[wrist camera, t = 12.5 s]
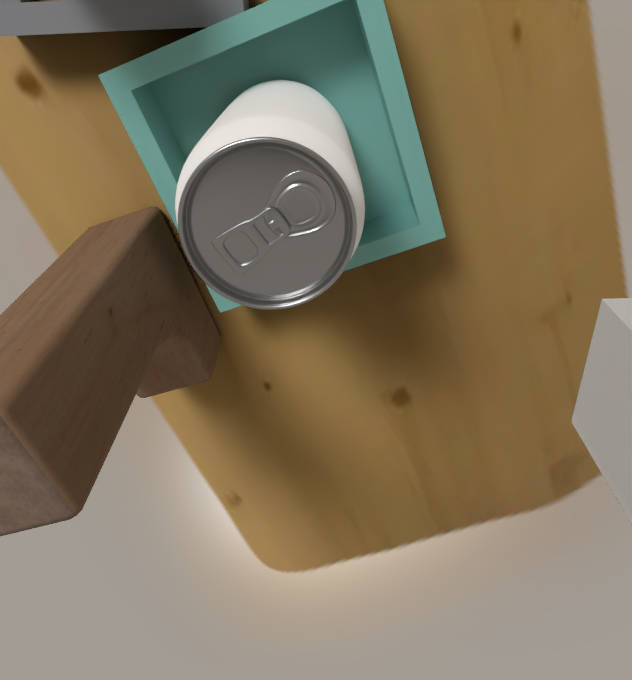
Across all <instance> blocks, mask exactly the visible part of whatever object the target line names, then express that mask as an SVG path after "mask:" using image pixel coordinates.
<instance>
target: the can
mask: <svg viewBox="0 0 632 680" xmlns="http://www.w3.org/2000/svg"><path fill="white" fill-rule="evenodd" d="M175 211H176V219H177V224H178V232H179V237H180V242H181V245H182V248H183V251H184V253H185V256H186V258H187V260H188V262H189V263H190V265H191V267H192V268H193V270H194V271H195V272H196V274H197V275H198V276H199V277H200V278H201V279H202V281H203V282H204V283H205V284H207V285H208V286H209V287H210V288H211V289H212V290H214V291H215V292H216V293H218V294H219V295H221V296H223V297H224V298H226V299H228V300H230V301H232V302H235V303H237V304H240V305H243V306H247V307H251V308H256V309H265V310H276V309H285V308H291V307H295V306H298V305H301V304H304V303H306V302H308V301H310V300H312V299H314V298H316V297H318V296H319V295H321V294H322V293H324V292H325V291H326V290H327V289H329V288H330V287H331V286H332V285H333V284H334V283H335V282H336V281H337V279H338V278H339V277H340V276H341V274H342V273H343V271H344V270H345V268H346V266H347V264H348V262H349V261H350V259H351V258H352V256H353V254H354V252H355V251H356V248H357V246H358V244H359V241H360V238H361V235H362V231H363V226H364V217H365V200H364V193H363V187H362V183H361V179H360V175H359V171H358V168H357V164H356V160H355V157H354V154H353V150H352V147H351V144H350V140H349V137H348V134H347V131H346V128H345V125H344V123H343V121H342V119H341V117H340V115H339V114H338V112H337V111H336V109H335V108H334V107H333V106H332V105H331V103H330V102H329V101H328V100H327V99H326V98H325V97H323V96H322V95H321V94H320V93H319V92H317V91H316V90H314V89H313V88H311V87H309V86H307V85H305V84H302V83H299V82H295V81H290V80H272V81H266V82H263V83H260V84H257V85H255V86H252V87H250V88H249V89H247V90H245V91H244V92H243V93H241V94H240V95H239V96H238V97H237V98H236V99H235V100H234V101H233V102H232V103H231V104H230V105H229V106H228V107H227V108H226V109H225V110H224V112H223V113H222V114H221V115H220V116H219V117H218V119H217V120H216V121H215V122H214V123H213V125H212V126H211V127H210V128H209V129H208V131H207V132H206V133H205V134H204V135H203V137H202V138H201V139H200V141H199V142H198V143H197V144H196V146H195V147H194V149H193V150H192V152H191V153H190V155H189V156H188V158H187V160H186V162H185V164H184V166H183V168H182V171H181V174H180V177H179V180H178V184H177V189H176V197H175Z"/></svg>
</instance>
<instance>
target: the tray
mask: <svg viewBox="0 0 632 680" xmlns="http://www.w3.org/2000/svg"><path fill="white" fill-rule="evenodd" d="M98 76H99V78H100V80H101V82H102V84H103V86H104V88H105V90H106V92H107V94H108V96H109V98H110V100H111V102H112V103H113V105H114V107H115V109H116V111H117V113H118V115H119V117H120V119H121V121H122V123H123V125H124V127H125V129H126V131H127V133H128V135H129V137H130V138H131V140H132V142H133V144H134V146H135V148H136V150H137V152H138V154H139V156H140V158H141V160H142V162H143V164H144V166H145V168H146V170H147V172H148V173H149V175H150V177H151V179H152V181H153V183H154V185H155V187H156V189H157V191H158V193H159V195H160V197H161V199H162V201H163V203H164V205H165V206H166V208H167V210H168V212H169V214H170V216H171V218H172V220H173V222H174V224H175V226H176V228H177V230H178V224H177V219H176V211H175V197H176V189H177V184H178V180H179V177H180V174H181V171H182V168H183V166H184V164H185V162H186V160H187V158H188V156H189V155H190V153H191V152H192V150H193V149H194V147H195V146H196V144H197V143H198V142H199V141H200V139H201V138H202V137H203V135H204V134H205V133H206V132H207V131H208V129H209V128H210V127H211V126H212V125H213V123H214V122H215V121H216V120H217V119H218V117H219V116H220V115H221V114H222V113H223V112H224V110H225V109H226V108H227V107H228V106H229V105H230V104H231V103H232V102H233V101H234V100H235V99H236V98H237V97H238V96H239V95H240V94H241V93H243V92H244V91H245V90H247V89H249V88H250V87H252V86H255V85H257V84H260V83H263V82H266V81H272V80H290V81H295V82H299V83H302V84H305V85H307V86H309V87H311V88H313V89H314V90H316V91H317V92H319V93H320V94H321V95H322V96H323V97H325V98H326V99H327V100H328V101H329V102H330V103H331V105H332V106H333V107H334V108H335V109H336V111H337V112H338V114H339V115H340V117H341V119H342V121H343V123H344V125H345V128H346V131H347V134H348V137H349V140H350V144H351V147H352V150H353V154H354V157H355V160H356V164H357V168H358V171H359V175H360V179H361V183H362V187H363V193H364V200H365V217H364V226H363V231H362V235H361V238H360V241H359V244H358V246H357V248H356V251H355V252H354V254H353V256H352V258H351V259H350V261H349V262H348V264H347V266H346V268H345V270H344V271H346V270H349V269H352V268H355V267H358V266H361V265H364V264H367V263H370V262H373V261H376V260H379V259H382V258H385V257H388V256H391V255H394V254H397V253H400V252H403V251H406V250H409V249H412V248H415V247H418V246H421V245H424V244H427V243H430V242H433V241H436V240H439V239H442V238H445V237H446V235H445V231H444V228H443V224H442V220H441V216H440V212H439V209H438V205H437V201H436V197H435V193H434V190H433V186H432V182H431V178H430V175H429V171H428V167H427V163H426V159H425V156H424V152H423V148H422V144H421V140H420V137H419V133H418V129H417V125H416V122H415V118H414V114H413V110H412V106H411V103H410V99H409V95H408V91H407V87H406V84H405V80H404V76H403V72H402V69H401V65H400V61H399V57H398V53H397V50H396V46H395V42H394V38H393V34H392V31H391V27H390V23H389V19H388V16H387V12H386V8H385V4H384V0H269V1H267V2H265V3H262V4H260V5H258V6H255V7H253V8H251V9H249V10H246V11H244V12H242V13H239V14H237V15H235V16H232V17H230V18H228V19H226V20H223V21H221V22H219V23H216V24H214V25H212V26H210V27H207V28H205V29H203V30H200V31H198V32H196V33H194V34H191V35H189V36H187V37H184V38H182V39H180V40H177V41H175V42H173V43H171V44H168V45H166V46H164V47H161V48H159V49H157V50H155V51H152V52H150V53H148V54H145V55H143V56H141V57H139V58H136V59H134V60H132V61H129V62H127V63H125V64H123V65H120V66H118V67H116V68H113V69H111V70H109V71H106V72H104V73H102V74H100V75H98ZM206 286H207V288H208V290H209V292H210V294H211V296H212V298H213V300H214V302H215V304H216V306H217V308H218V310H219V311H220V313H221V312H224V311H227V310H230V309H233V308H236V307H239V306H242V305H240V304H237V303H235V302H232V301H230V300H228V299H226V298H224V297H223V296H221V295H219V294H218V293H216V292H215V291H214V290H212V289H211V288H210V287H209V286H208V285H207V284H206Z"/></svg>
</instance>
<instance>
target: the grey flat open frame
mask: <svg viewBox="0 0 632 680" xmlns="http://www.w3.org/2000/svg"><path fill="white" fill-rule="evenodd" d="M249 9H250V8H249V0H64V1H42V2H32V0H0V36H20V35H43V34H65V33H88V32H110V31H133V30H155V29H178V28H200V27H210V26H212V25H214V24H216V23H219V22H221V21H223V20H226V19H228V18H230V17H232V16H235V15H237V14H239V13H242V12H244V11H246V10H249Z"/></svg>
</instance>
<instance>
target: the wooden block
mask: <svg viewBox="0 0 632 680" xmlns="http://www.w3.org/2000/svg"><path fill="white" fill-rule="evenodd" d="M220 344H221V336H220V334H219V332H218V330H217V328H216V326H215V324H214V322H213V319H212V317H211V315H210V313H209V311H208V309H207V307H206V305H205V303H204V301H203V298H202V296H201V294H200V292H199V290H198V288H197V286H196V284H195V282H194V280H193V277H192V275H191V273H190V271H189V269H188V267H187V265H186V263H185V261H184V259H183V257H182V255H181V252H180V250H179V248H178V246H177V244H176V242H175V240H174V238H173V236H172V234H171V232H170V229H169V227H168V225H167V223H166V221H165V219H164V217H163V215H162V213H161V211H160V210H159V209H158V208H157V207H149V208H146V209H143V210H140V211H137V212H134V213H131V214H128V215H126V216H123V217H120V218H117V219H114V220H111V221H108V222H105V223H102V224H99V225H96V226H93V227H90V228H88V229H87V230H86V231H85V232H84V233H83V234H82V235H81V236H80V237H79V238H78V239H77V240H76V241H75V242H74V243H73V244H72V245H71V246H70V247H69V248H68V249H67V250H66V251H65V252H64V253H63V254H62V255H61V256H60V257H59V258H58V259H57V260H56V261H55V262H54V263H53V264H52V265H51V266H50V267H49V268H48V269H47V270H46V271H45V272H44V273H43V274H42V275H41V276H40V277H38V278H37V279H36V281H34V283H32V284H31V286H30V287H28V288H27V289H26V290H25V291H24V292H23V293H22V294H21V295H20V296H19V297H18V298H17V300H15V301H14V302H13V303H12V304H11V305H10V306H9V307H8V308H7V309H6V310H5V311H4V312H3V313H2V314H1V315H0V536H3V535H7V534H12V533H16V532H20V531H24V530H28V529H32V528H36V527H40V526H44V525H49V524H53V523H57V522H60V521H65V520H69V519H71V518H73V517H74V516H76V515H77V514H78V513H79V512H80V511H81V510H82V509H83V506H84V504H85V502H86V500H87V498H88V496H89V494H90V491H91V489H92V487H93V485H94V483H95V481H96V479H97V476H98V474H99V472H100V470H101V468H102V466H103V463H104V461H105V459H106V457H107V455H108V453H109V451H110V448H111V446H112V444H113V442H114V440H115V438H116V435H117V433H118V431H119V429H120V427H121V425H122V422H123V421H124V418H125V416H126V414H127V412H128V410H129V408H130V405H131V403H132V401H133V399H134V397H135V395H136V394H137V395H138V396H139V397H141V398H146V397H150V396H153V395H157V394H161V393H164V392H168V391H171V390H175V389H179V388H182V387H186V386H190V385H193V384H197V383H201V382H204V381H207V380H208V379H210V378H211V376H212V373H213V369H214V366H215V362H216V359H217V355H218V351H219V348H220Z"/></svg>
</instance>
